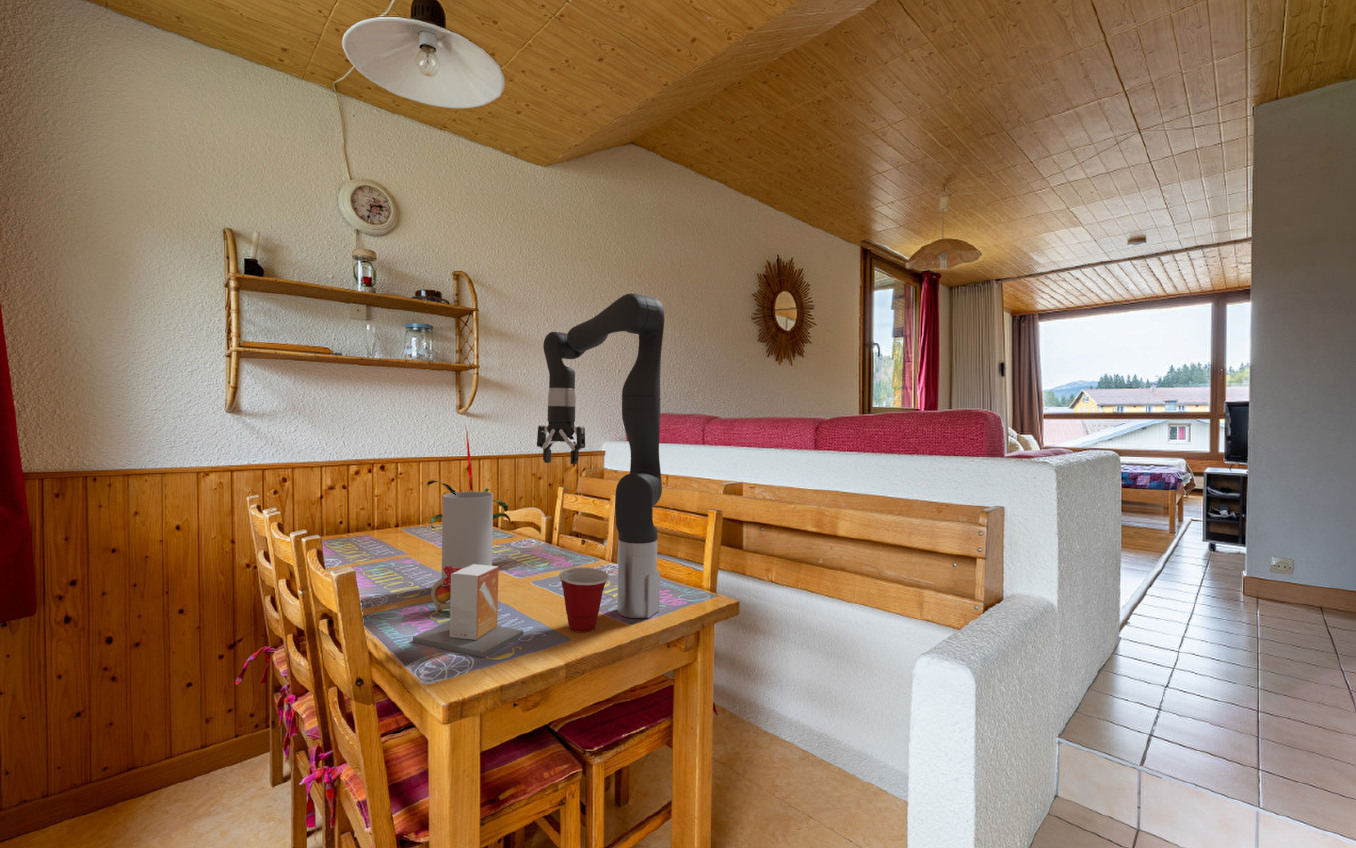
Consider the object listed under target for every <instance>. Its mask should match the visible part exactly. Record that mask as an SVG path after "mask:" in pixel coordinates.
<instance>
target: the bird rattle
mask: <svg viewBox="0 0 1356 848" xmlns="http://www.w3.org/2000/svg"><path fill="white" fill-rule="evenodd" d="M460 569H463V568H459V569H457V568H454V567H452V566H449V567H448V566H445V567H444V568H443V570H444V572H445V573H446V575H447V576H448V577H446V578H442V577H441V578H439V579H438V580H437V581H436V582H434V584H433V586H432V587H431V591H430V597H431V600H432V601H431V602H432V603H433V604H434V606H435V607H436V611H438V612H440V611H443V610H450V594H451V588H450V587H451V574H452V573H454V572H456V571H459V570H460ZM442 585H448V586H442Z"/></svg>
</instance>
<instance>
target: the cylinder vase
mask: <svg viewBox="0 0 1356 848" xmlns="http://www.w3.org/2000/svg"><path fill="white" fill-rule="evenodd" d="M453 493H455V494H456V495H455V494H453ZM493 510H494V493H493V492H486V491H458V492H449V493H444V494H443V495H442V517H441V518H442V521H441V522H442V523H441V524H442V529H441V530H442V531H441V532H442V533H441V534H442V535H441V579H442V578H446V577H448V576H447V575H446V573H445V572H444V570H443V568H444V567H445V566H448V567H449V566H452V567H454V568H457V569H459V568H466V567H468V566H471V565H473V564H478V565H489V566H493V525H494V524H493V523H494V522H493V520H494V519H493V518H494V517H493V516H494V512H493ZM442 586H448V585H442ZM450 588H451V587H450Z"/></svg>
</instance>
